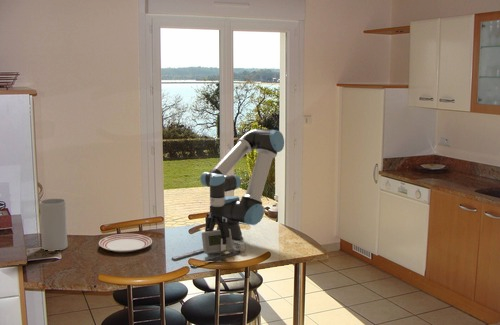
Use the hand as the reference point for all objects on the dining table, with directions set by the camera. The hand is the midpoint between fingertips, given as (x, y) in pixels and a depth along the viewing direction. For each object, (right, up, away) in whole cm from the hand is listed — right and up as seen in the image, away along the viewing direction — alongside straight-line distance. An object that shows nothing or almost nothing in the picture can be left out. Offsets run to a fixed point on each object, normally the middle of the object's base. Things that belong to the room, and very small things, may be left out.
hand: (217, 248), depth 285 cm
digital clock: (0, -2, 0) cm, 2 cm away
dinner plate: (-49, -1, +9) cm, 50 cm away
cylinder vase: (-85, -1, +5) cm, 85 cm away
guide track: (-4, -3, -3) cm, 6 cm away
